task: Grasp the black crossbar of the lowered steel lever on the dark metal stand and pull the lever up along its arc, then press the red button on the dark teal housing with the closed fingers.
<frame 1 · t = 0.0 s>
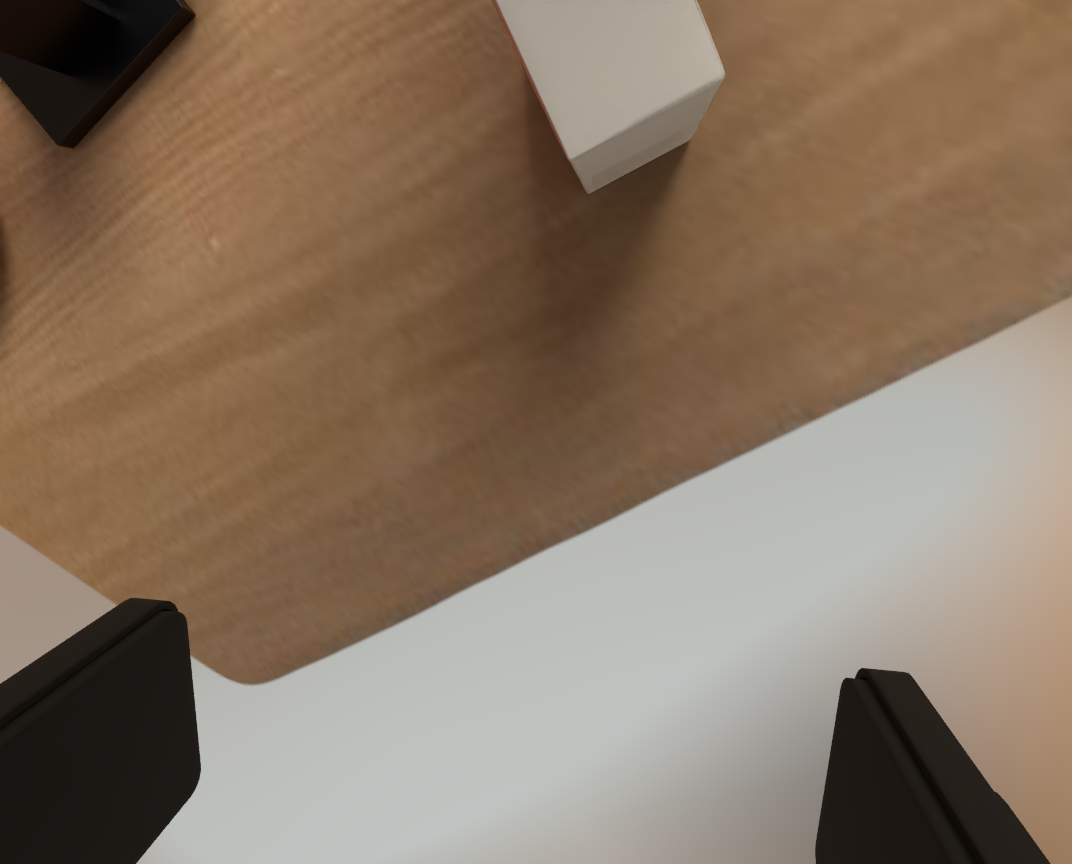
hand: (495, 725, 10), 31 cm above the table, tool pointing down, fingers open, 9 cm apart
small box: (606, 99, 36), on the table
stand: (79, 17, 38), on the table
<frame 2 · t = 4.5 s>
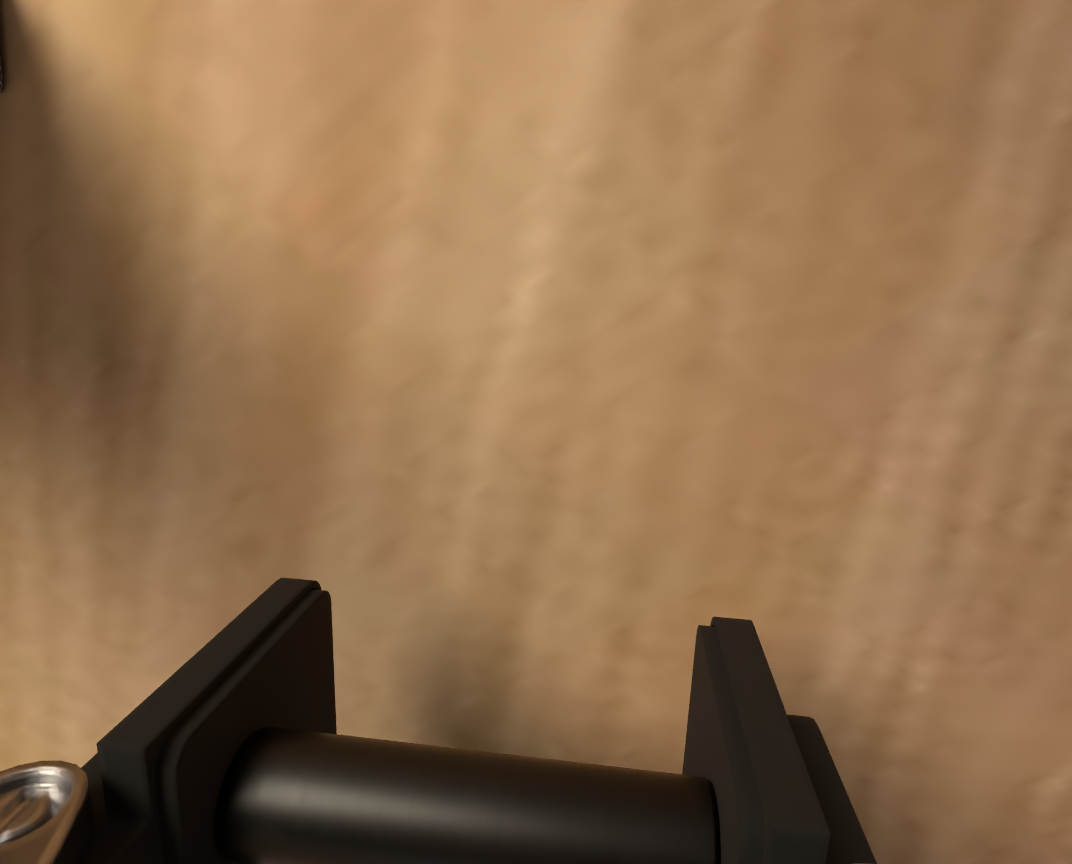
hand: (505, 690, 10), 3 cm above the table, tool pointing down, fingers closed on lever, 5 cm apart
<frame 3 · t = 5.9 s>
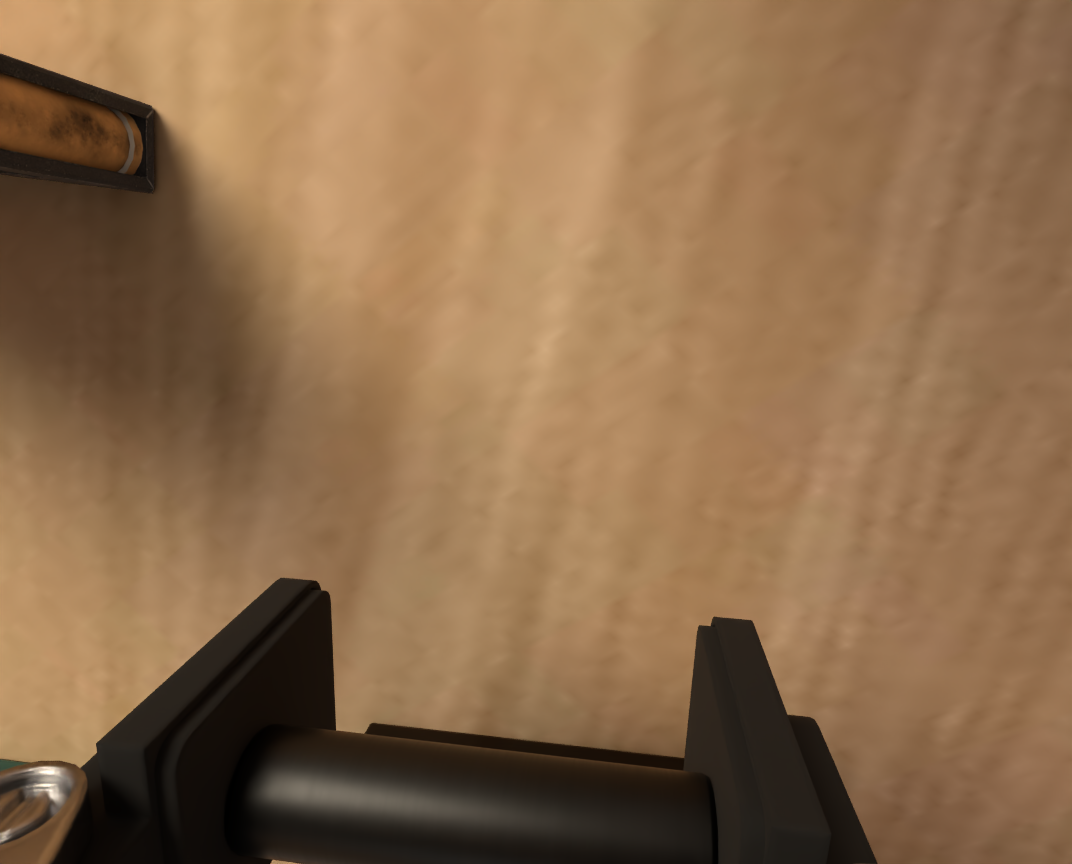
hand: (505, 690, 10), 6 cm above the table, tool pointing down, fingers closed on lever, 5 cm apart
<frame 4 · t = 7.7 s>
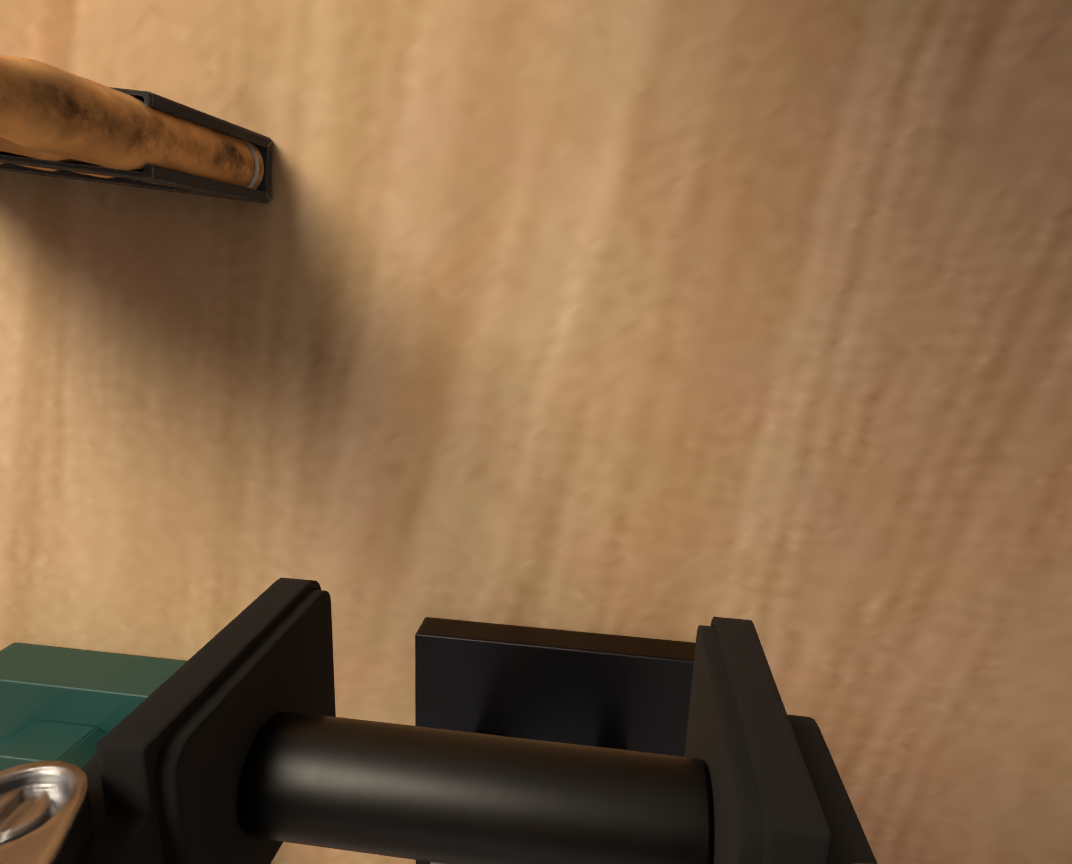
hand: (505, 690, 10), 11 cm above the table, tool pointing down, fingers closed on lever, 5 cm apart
button block: (126, 770, 26), on the table
stand: (550, 772, 24), on the table
ammunition clip: (111, 152, 21), on the table
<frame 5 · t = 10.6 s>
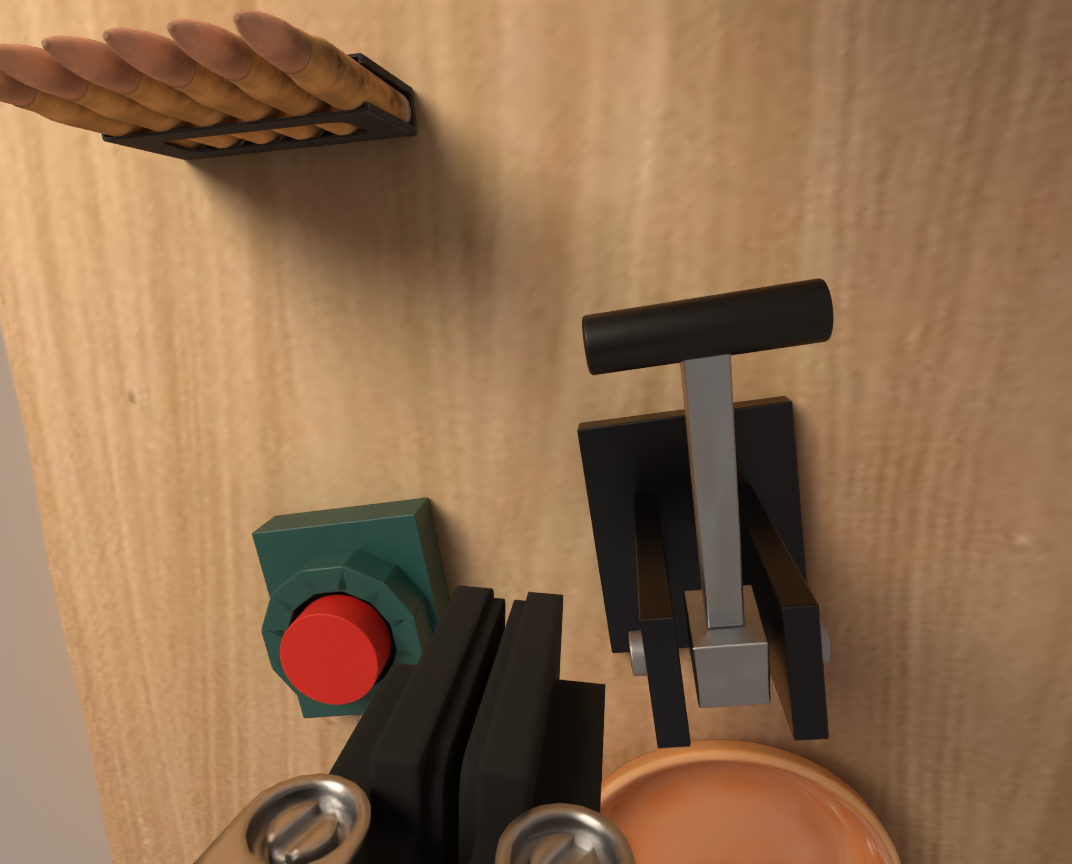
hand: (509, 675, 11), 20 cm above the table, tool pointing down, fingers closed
button: (336, 649, 30), point 4 cm above the table, slide at 0.1 cm
lever: (716, 520, 19), point 12 cm above the table, hinge at 17.7°
button block: (372, 599, 34), on the table
stand: (693, 525, 31), on the table
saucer: (719, 841, 35), on the table
ammunition clip: (295, 125, 29), on the table
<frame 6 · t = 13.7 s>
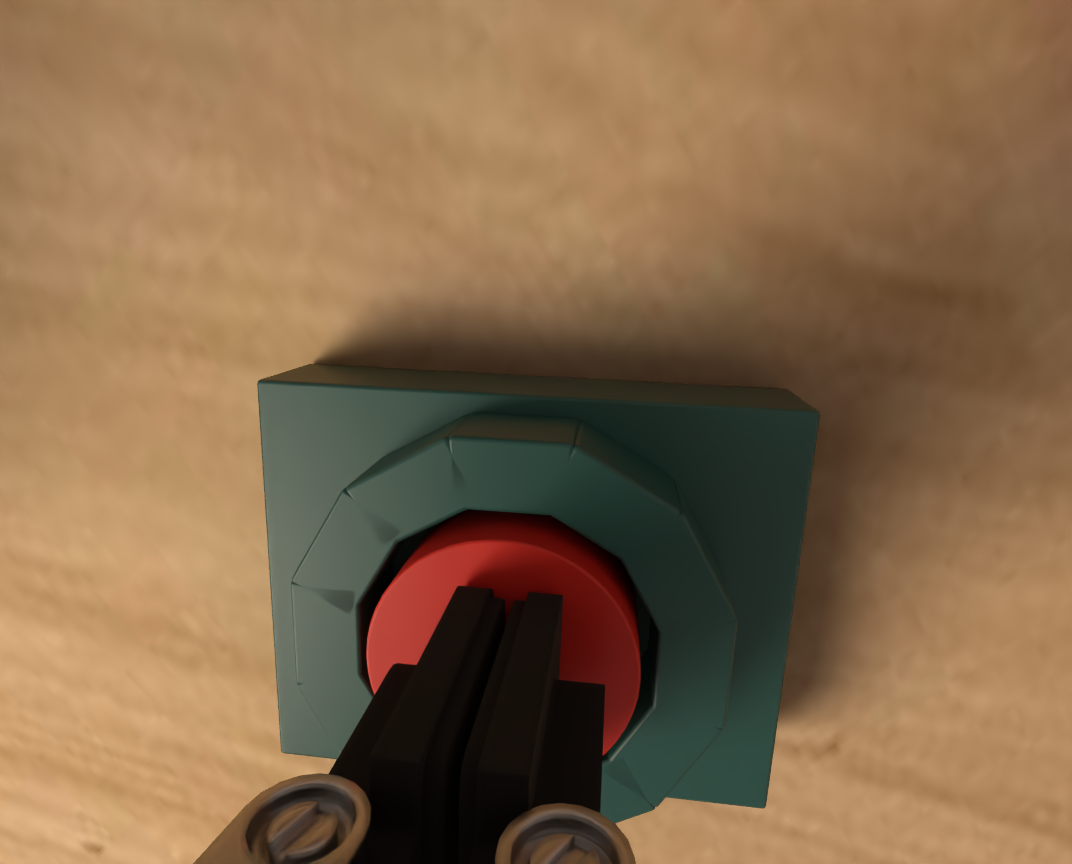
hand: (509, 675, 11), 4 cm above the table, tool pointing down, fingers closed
button: (508, 640, 12), point 4 cm above the table, slide at -0.8 cm, touching gripper
button block: (533, 555, 15), on the table
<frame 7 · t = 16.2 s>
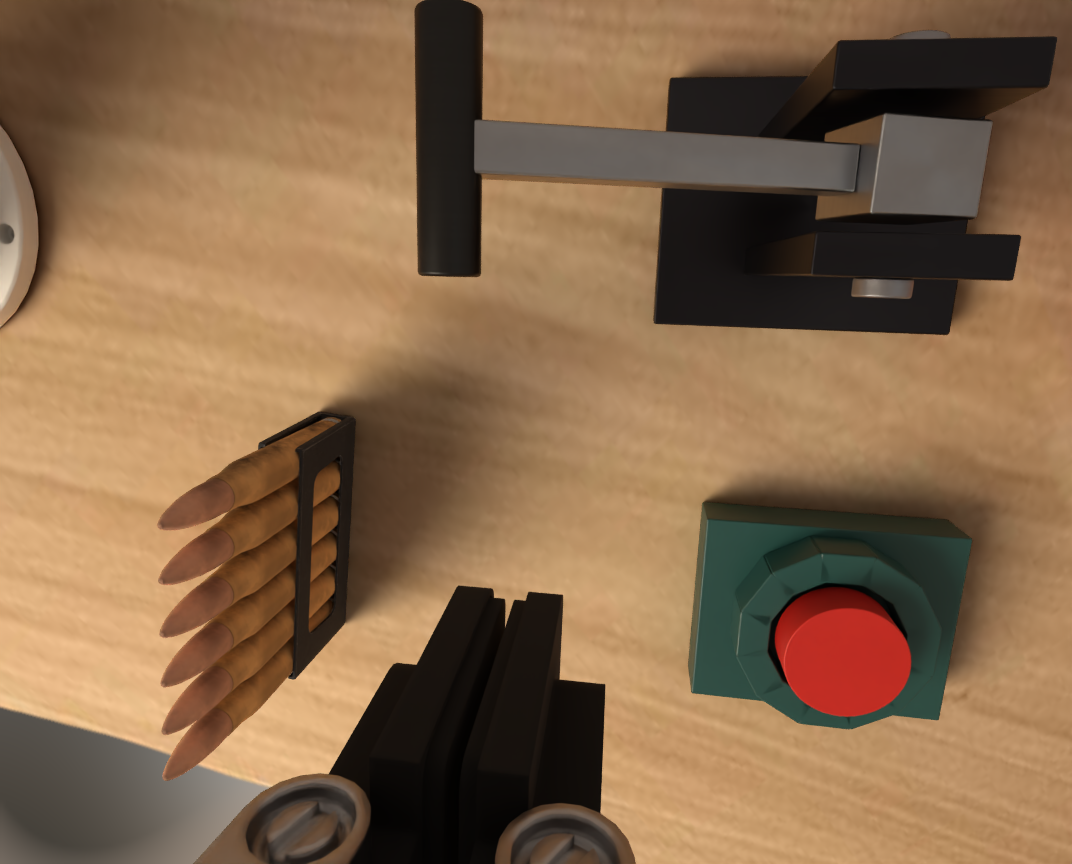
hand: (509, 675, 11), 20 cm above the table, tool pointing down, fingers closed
button: (840, 650, 26), point 4 cm above the table, slide at 0.1 cm
lever: (699, 162, 16), point 12 cm above the table, hinge at 17.7°
button block: (811, 596, 30), on the table
stand: (803, 210, 26), on the table
ammunition clip: (333, 520, 33), on the table
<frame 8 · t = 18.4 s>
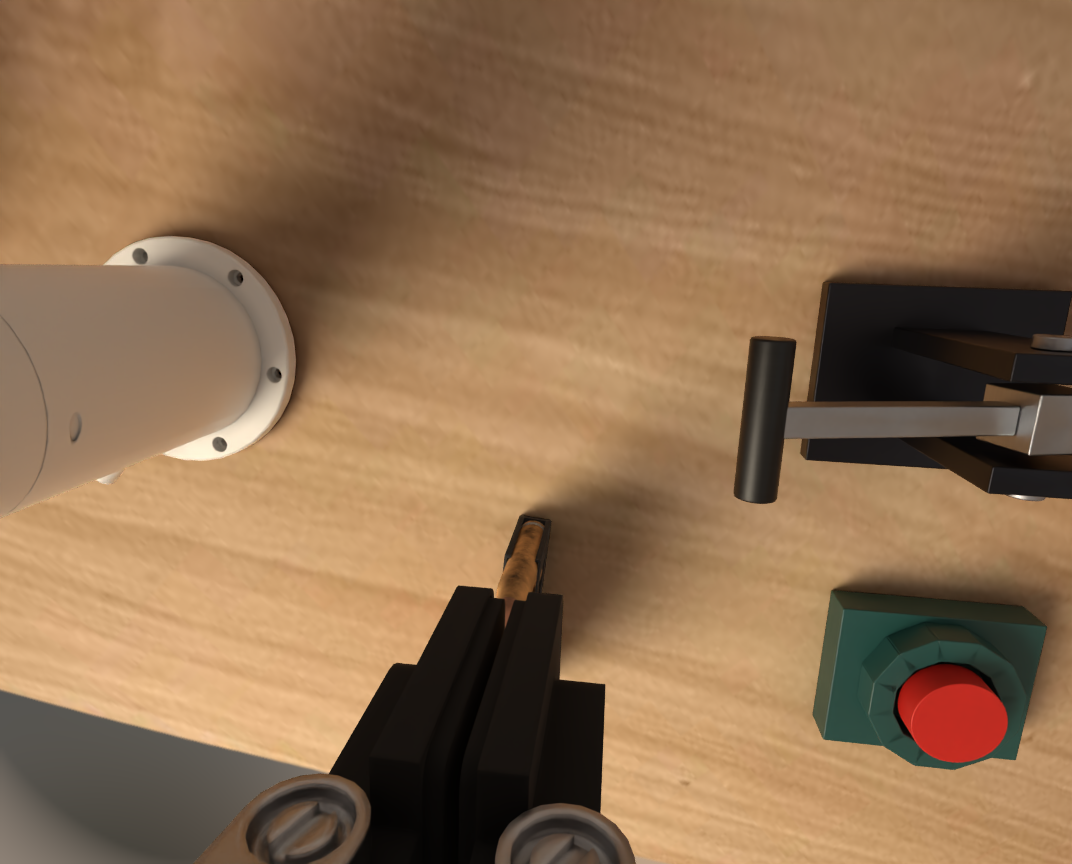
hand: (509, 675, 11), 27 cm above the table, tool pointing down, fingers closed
button: (950, 712, 34), point 4 cm above the table, slide at 0.1 cm
lever: (915, 418, 24), point 12 cm above the table, hinge at 17.7°
button block: (913, 662, 38), on the table
stand: (922, 376, 35), on the table
ammunition clip: (525, 599, 40), on the table
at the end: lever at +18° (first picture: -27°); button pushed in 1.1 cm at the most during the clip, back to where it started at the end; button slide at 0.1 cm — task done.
